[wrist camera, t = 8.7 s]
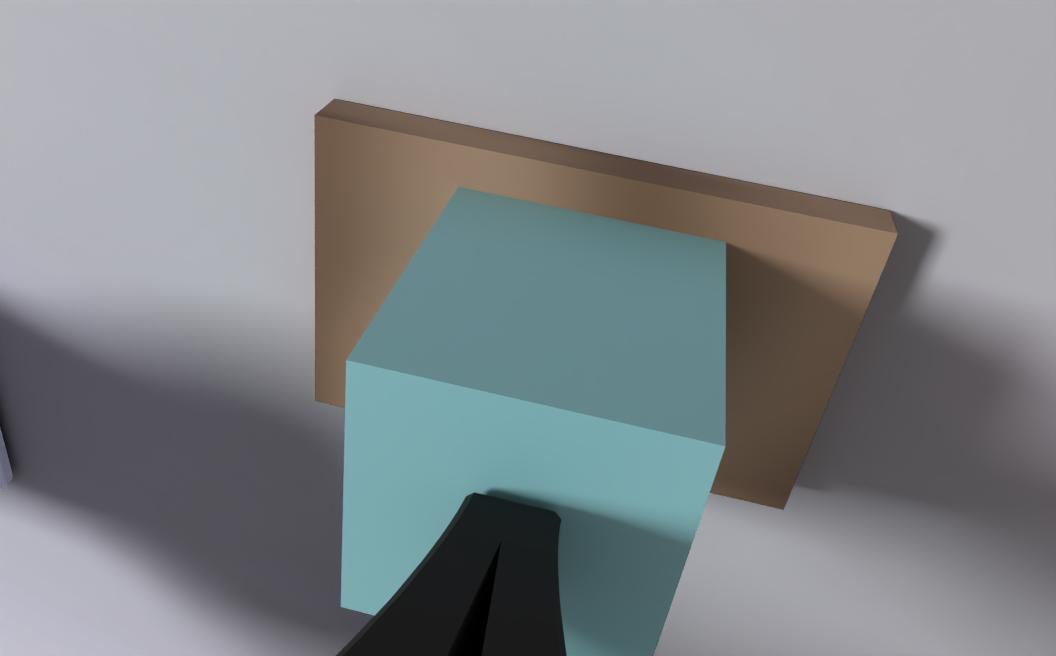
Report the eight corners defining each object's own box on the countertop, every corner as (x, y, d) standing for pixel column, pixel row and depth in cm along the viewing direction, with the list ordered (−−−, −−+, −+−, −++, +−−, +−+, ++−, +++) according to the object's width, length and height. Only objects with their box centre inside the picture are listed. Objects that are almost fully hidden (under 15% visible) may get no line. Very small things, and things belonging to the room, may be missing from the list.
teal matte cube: (438, 396, 20) (340, 607, 15) (458, 186, 17) (346, 360, 12) (665, 449, 19) (643, 683, 14) (726, 242, 16) (725, 447, 11)
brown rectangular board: (331, 376, 21) (233, 525, 17) (334, 98, 18) (209, 203, 13) (780, 479, 20) (795, 664, 16) (889, 210, 17) (945, 361, 12)
